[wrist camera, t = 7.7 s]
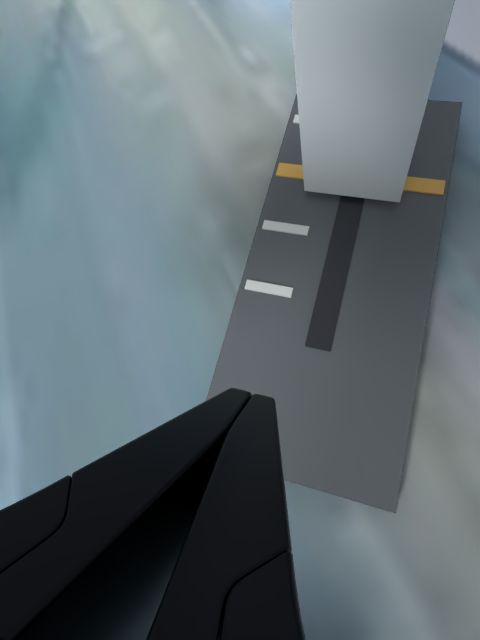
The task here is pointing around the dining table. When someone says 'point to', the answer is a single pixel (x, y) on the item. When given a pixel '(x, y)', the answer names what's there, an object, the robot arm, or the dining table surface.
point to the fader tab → (363, 89)
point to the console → (341, 316)
